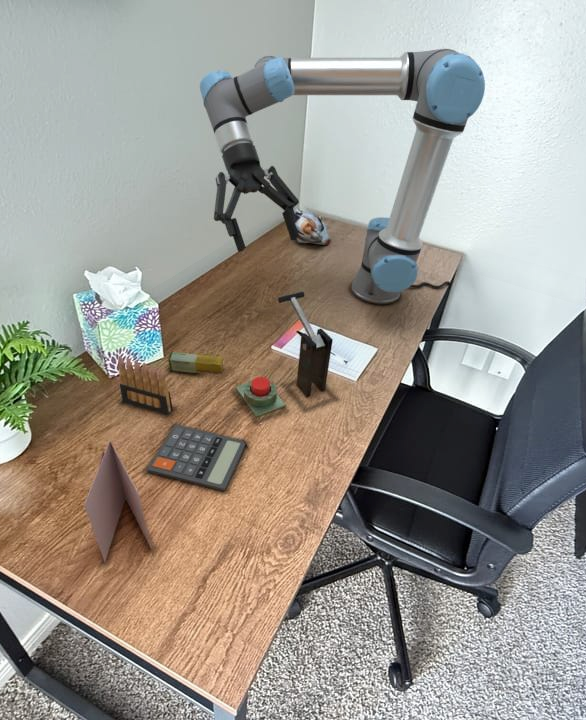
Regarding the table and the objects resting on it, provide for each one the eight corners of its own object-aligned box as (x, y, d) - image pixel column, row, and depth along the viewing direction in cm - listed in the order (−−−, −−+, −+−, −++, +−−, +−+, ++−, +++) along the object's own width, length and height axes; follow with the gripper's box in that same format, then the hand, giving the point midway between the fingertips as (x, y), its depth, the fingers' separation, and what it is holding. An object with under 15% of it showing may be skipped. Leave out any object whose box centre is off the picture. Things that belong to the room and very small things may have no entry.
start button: (247, 387, 100) (247, 380, 98) (264, 381, 102) (264, 374, 100) (256, 398, 97) (256, 391, 96) (273, 392, 99) (273, 385, 98)
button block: (235, 393, 103) (235, 379, 101) (263, 383, 106) (263, 370, 104) (256, 422, 97) (256, 408, 94) (285, 411, 100) (286, 397, 98)
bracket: (285, 386, 107) (289, 330, 97) (314, 375, 110) (321, 320, 101) (305, 410, 101) (312, 354, 91) (335, 399, 105) (345, 343, 95)
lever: (276, 300, 100) (279, 294, 98) (300, 295, 103) (303, 288, 101) (305, 355, 96) (309, 350, 94) (328, 348, 99) (333, 342, 97)
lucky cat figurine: (337, 244, 169) (335, 218, 156) (309, 260, 167) (305, 235, 154) (314, 218, 175) (311, 191, 162) (287, 233, 173) (282, 207, 160)
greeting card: (120, 497, 80) (104, 439, 71) (164, 498, 81) (154, 441, 71) (98, 561, 71) (77, 505, 62) (148, 562, 72) (134, 506, 62)
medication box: (169, 371, 106) (167, 359, 104) (173, 363, 108) (170, 350, 106) (221, 376, 106) (220, 364, 104) (224, 368, 108) (223, 356, 106)
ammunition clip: (173, 409, 97) (167, 365, 90) (168, 415, 96) (162, 371, 88) (127, 396, 99) (118, 352, 91) (122, 401, 97) (112, 357, 90)
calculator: (175, 423, 93) (246, 440, 91) (175, 426, 94) (246, 443, 92) (146, 468, 84) (224, 488, 82) (146, 471, 84) (224, 491, 83)
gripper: (279, 152, 110) (307, 239, 112) (178, 163, 98) (212, 260, 99) (293, 136, 104) (323, 228, 105) (187, 145, 91) (223, 249, 93)
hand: (269, 244), depth 102 cm, fingers open, 13 cm apart
